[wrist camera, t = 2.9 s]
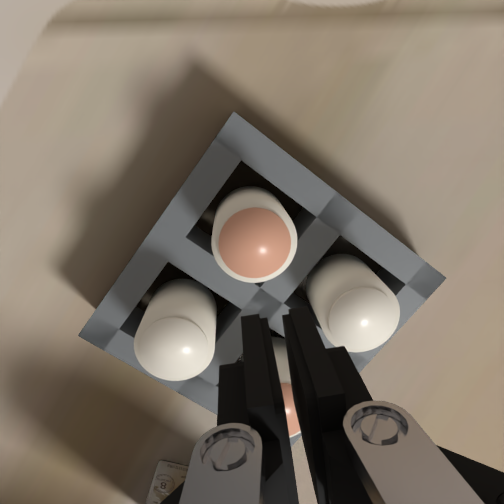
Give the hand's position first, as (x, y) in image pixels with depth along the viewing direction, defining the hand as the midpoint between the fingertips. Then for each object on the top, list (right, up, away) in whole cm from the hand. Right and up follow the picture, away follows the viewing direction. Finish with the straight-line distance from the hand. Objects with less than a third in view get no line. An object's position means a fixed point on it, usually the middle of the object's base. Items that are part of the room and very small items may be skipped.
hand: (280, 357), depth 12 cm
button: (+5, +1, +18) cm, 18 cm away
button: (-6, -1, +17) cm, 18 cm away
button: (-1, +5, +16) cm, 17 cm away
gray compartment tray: (0, +1, +20) cm, 20 cm away
